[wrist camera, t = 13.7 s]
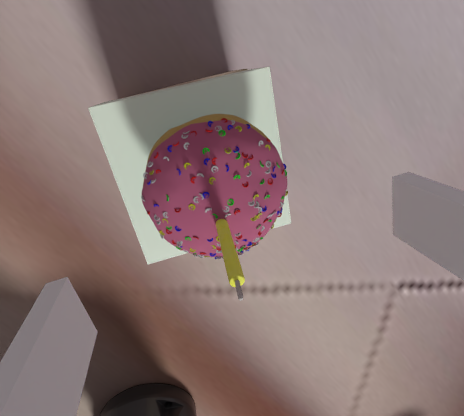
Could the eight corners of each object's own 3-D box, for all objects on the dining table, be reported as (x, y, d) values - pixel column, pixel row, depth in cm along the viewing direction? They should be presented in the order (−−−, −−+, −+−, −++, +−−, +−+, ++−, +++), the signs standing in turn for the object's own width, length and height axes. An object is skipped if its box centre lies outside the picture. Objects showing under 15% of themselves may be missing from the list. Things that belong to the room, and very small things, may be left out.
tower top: (150, 230, 30) (147, 264, 24) (104, 102, 25) (88, 108, 19) (268, 198, 31) (291, 223, 25) (247, 69, 26) (269, 66, 21)
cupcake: (264, 220, 25) (337, 328, 14) (155, 230, 23) (137, 359, 12) (265, 106, 21) (362, 126, 10) (139, 111, 20) (97, 139, 9)
